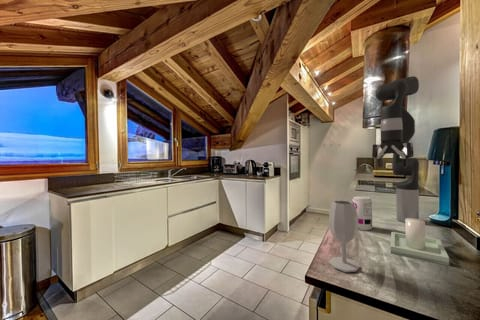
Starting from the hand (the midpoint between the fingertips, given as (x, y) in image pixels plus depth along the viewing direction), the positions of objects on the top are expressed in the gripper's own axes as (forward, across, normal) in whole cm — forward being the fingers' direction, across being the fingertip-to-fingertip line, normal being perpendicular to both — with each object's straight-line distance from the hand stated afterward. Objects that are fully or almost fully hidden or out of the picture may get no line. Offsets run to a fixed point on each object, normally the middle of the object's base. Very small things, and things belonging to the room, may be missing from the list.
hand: (391, 167), depth 87 cm
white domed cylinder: (+29, -10, +6) cm, 31 cm away
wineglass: (+30, -1, +38) cm, 49 cm away
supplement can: (+30, +13, -2) cm, 33 cm away
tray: (+30, -10, +6) cm, 32 cm away
